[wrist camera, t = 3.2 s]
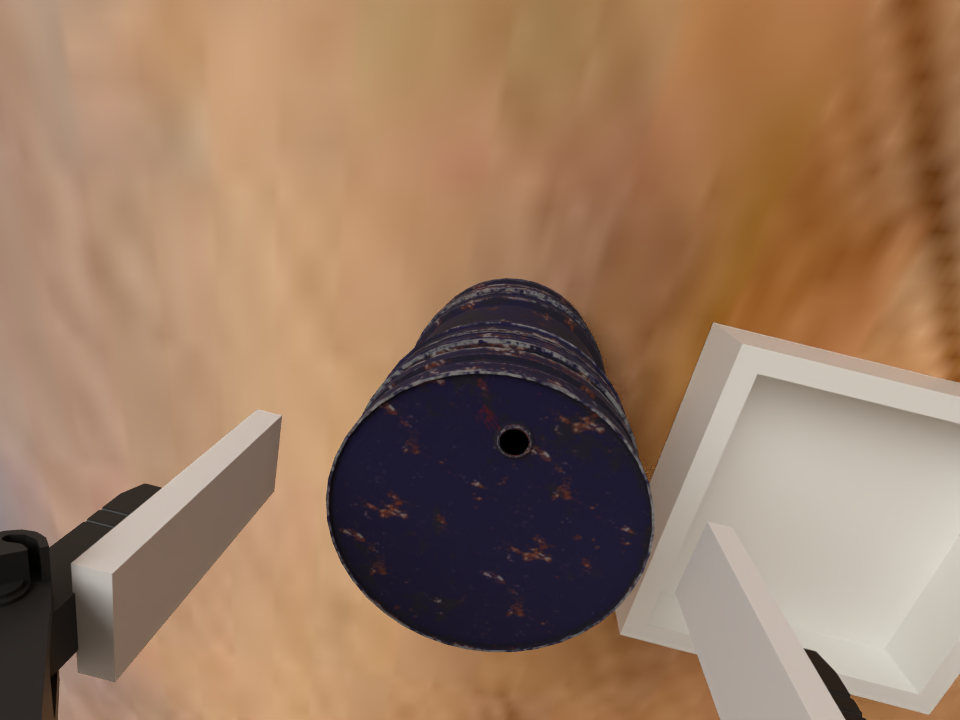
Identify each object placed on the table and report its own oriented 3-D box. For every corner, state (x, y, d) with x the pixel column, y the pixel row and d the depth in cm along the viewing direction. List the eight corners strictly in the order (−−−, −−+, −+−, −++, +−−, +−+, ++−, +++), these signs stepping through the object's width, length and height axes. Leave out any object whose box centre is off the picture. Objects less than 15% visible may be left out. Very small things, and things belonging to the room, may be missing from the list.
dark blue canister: (562, 461, 31) (588, 691, 17) (406, 413, 31) (298, 603, 17) (623, 305, 27) (718, 427, 13) (447, 252, 27) (357, 318, 13)
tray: (883, 654, 33) (929, 714, 29) (609, 583, 33) (619, 634, 29) (1048, 404, 27) (1133, 439, 23) (713, 322, 27) (742, 343, 23)
